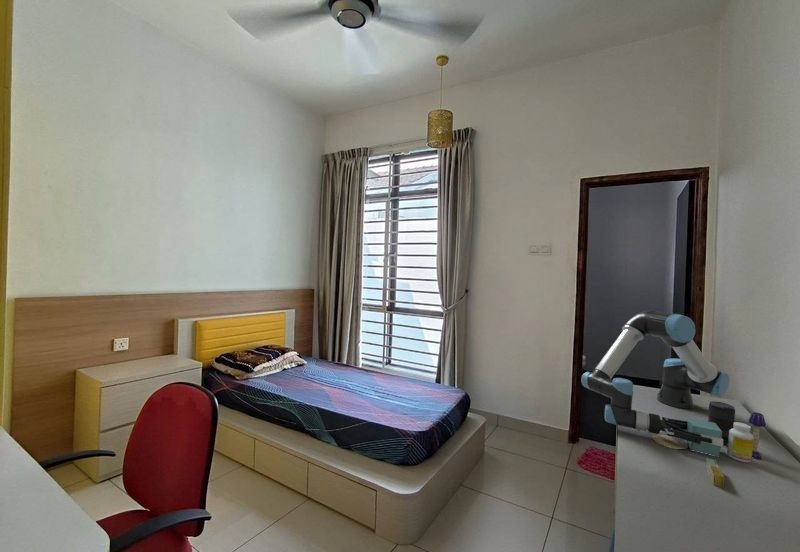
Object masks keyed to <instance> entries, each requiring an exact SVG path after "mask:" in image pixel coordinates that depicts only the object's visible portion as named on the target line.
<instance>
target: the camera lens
mask: <svg viewBox="0 0 800 552" xmlns="http://www.w3.org/2000/svg"><path fill="white" fill-rule="evenodd" d="M735 408H736V407H735V406H734V405H731V404H729V403H726V402H722V401H717V400H716V401H715V400H714V401H710V402H709V404H708V409H707V410H708V419H707V421H708V422H713V423H716V425H717V426H718V427H719V428H720V430H721V431H722V437H721V439H723V445H728V440H729V430H730V429H732V428H734V426H733V424H734V422H735V418H736V410H735Z"/></svg>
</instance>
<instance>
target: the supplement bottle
mask: <svg viewBox="0 0 800 552" xmlns="http://www.w3.org/2000/svg"><path fill="white" fill-rule="evenodd" d="M751 429H752V427H751V425H749V424H746V423H743V422H739V421H738V422H737V421H736V422H735V421H734V424H733V428H732V429H730V430H729V440H728V444H727V452H726V454H727V456H728V457H729V458H731V459H733V460H735V461H737V460H738V461H737V462H741V463H747V464H748V463H751V462H752V449H753V439H754V437H753V433H751Z"/></svg>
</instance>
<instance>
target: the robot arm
mask: <svg viewBox="0 0 800 552" xmlns="http://www.w3.org/2000/svg"><path fill="white" fill-rule="evenodd" d="M621 330H622V331H621V333H620V334H619V335H618V337H617V338H616V339H615V340H614V342H613V344H612V345H611V346H610V348H609V349H608V350H607V351H606V353H605V355H604V356H603V357H602V358H601V360H600V361H599V363H598V364H597V365H596V367H595V368H594V369H593V371H592V372H591V371H586V372H584V373H583V374H582V375H581V377H580V378H581V379H580V381H581V385H582V386H583V387H584V388H586V389H588V390H590V391H591V392H592V391H593V392H595V393H597V394H600V395H602V396H605V397H606V398H609V399H610V404H605V405H604V421H605V422H607V423H609V424H611V425H615V426H619V427H624V428H625V427H626V428H630V429H634V430H637V431H638V432H640V431H644V432H648V433H652V434H654V435H660V432H664V433H666V435H667V436H671V437H674V438H677V439H679V440H682V441H683V440H685V441H686V440H687V441H690V442H694V443H697V444H700V443H701V442H704V443H708V444H713V445H717V446H721V447H723V446H724V444H723V439H721V438H717V437H712V436H707V435H703V434H701V435H698V434H695V433H692V432H690V431H687V423H688V420H681V419H674V418H668V417H664V416H662V417H660V415H659V414H656V413H651V412H649V413H647V412H646V411H642V410H636V409H633V408H632V406H633V396H634V383H633V381H631V380H629V379H626V378H623V377H622V378H621V377H615V378H613V377H614V376H615V374H616V372H617V371H618V370H619V368H620V367H621V366H622V364H623V363H624V361H625V360H626V359H627V357H628V356H630V353H631V352H632V351H633V349H634V348H635V346H636V345H637V343H638V342H639V341H643V340H644V338H645V337H646V336H651V337H656V338H660V339H661V340H662V342H663V343H664V344H665V345H666V346H668V347H670V348H672V349H673V350H674V352H675V353H676V355H677V356H678V357H679V358H666V359H665V360H664V362H663V368H662V369H663V372H662V383H661V384H662V385H661V387H660V389H659V391H658V393H657V395H656V400H657V401H658V402H660V403H662V404H664V405H667V406H670V407H674V408H679V409H693V408H694V399H693V396H692V393H691V389H693V390H697V391H699V392H703V393H706V394H710V395H711V396H717V397H721V396H723V395H724V394H726V392H727V391H728V388H729V384H730V376H729V374H728V373H727V372H724V371H719V370H718V368H717V367H716V366H715V364H713V363H711V362H709V361H708V360H707V359H706V357H705V356H704V354H703V353H702V351H701V350H700V349H699V346H697V344H696V342H695V341H694V340H693V339H694V337H695V335H696V325H695V323H694V321H693V320H692V318H690V317H689V316H687V315H686V316H685V315H683V314H680V313H671V312H662V311H656V310H644V311H641V312H639V313H636V314H635V315H633V316H632V317H630V318H629V319H628V320H627V321H626V322H624V324H623V326H622V327H621ZM612 378H613V379H612ZM695 438H696V439H695Z"/></svg>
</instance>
